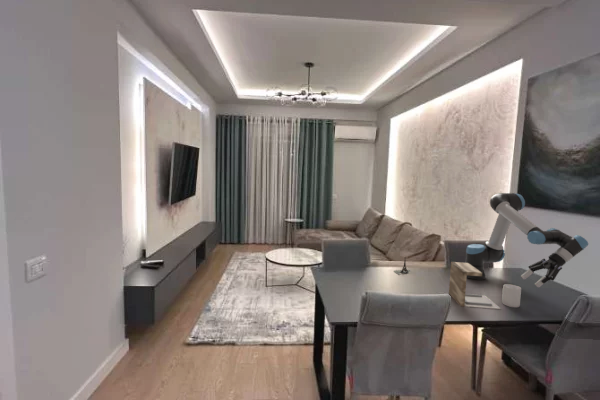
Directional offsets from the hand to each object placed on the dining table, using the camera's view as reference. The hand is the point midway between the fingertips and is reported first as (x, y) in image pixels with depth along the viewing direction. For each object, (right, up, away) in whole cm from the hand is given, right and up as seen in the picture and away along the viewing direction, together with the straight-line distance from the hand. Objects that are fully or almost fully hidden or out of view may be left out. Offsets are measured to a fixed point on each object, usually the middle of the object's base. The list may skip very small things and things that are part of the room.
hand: (529, 281), depth 183 cm
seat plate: (-28, -13, +5) cm, 31 cm away
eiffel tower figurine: (-53, -8, +58) cm, 79 cm away
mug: (-10, -14, +3) cm, 17 cm away
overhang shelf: (-35, -12, +6) cm, 37 cm away
